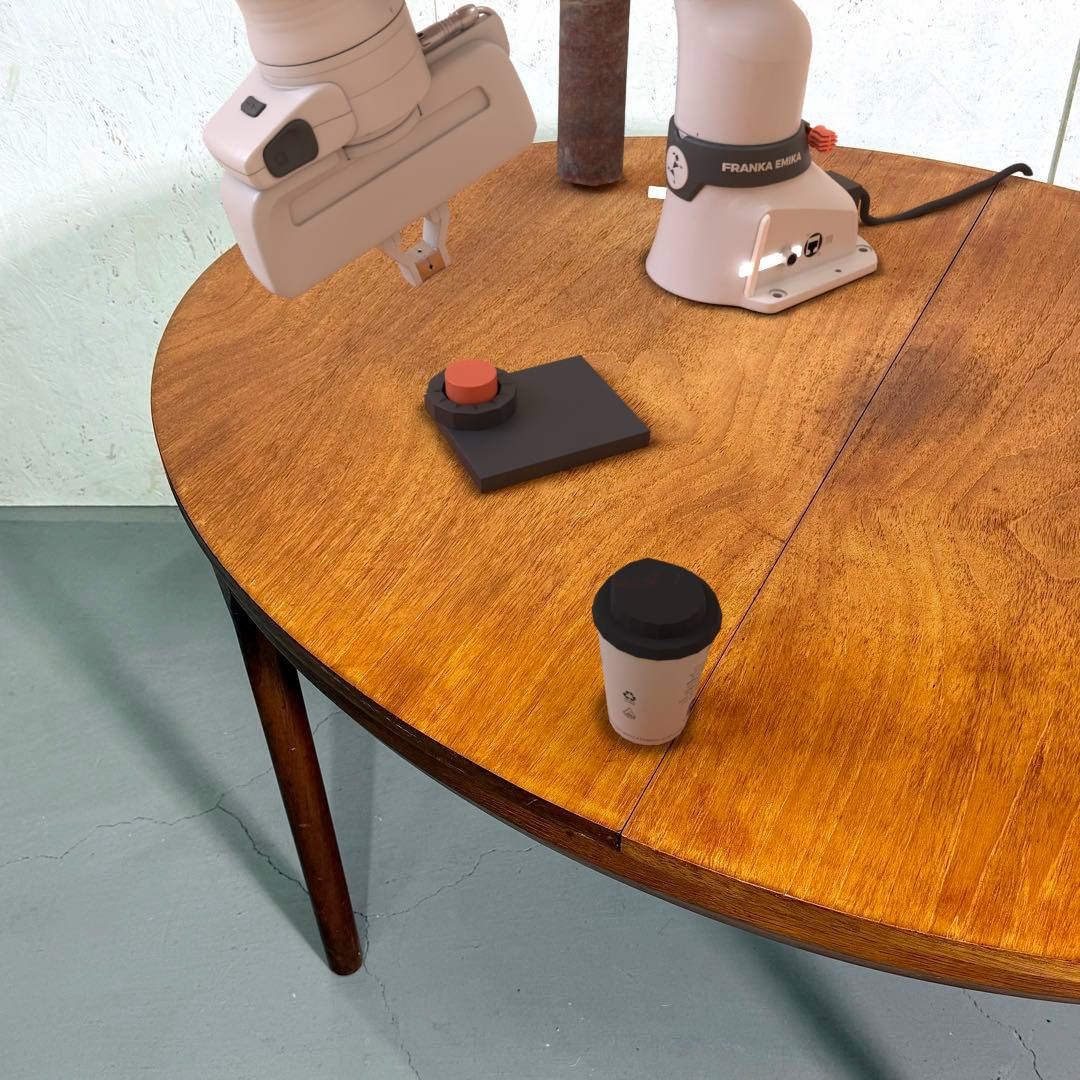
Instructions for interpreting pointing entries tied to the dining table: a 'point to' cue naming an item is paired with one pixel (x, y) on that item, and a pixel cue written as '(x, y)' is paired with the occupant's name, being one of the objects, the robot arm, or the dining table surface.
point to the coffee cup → (653, 646)
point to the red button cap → (471, 381)
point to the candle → (592, 90)
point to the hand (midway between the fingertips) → (428, 273)
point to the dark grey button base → (536, 423)
